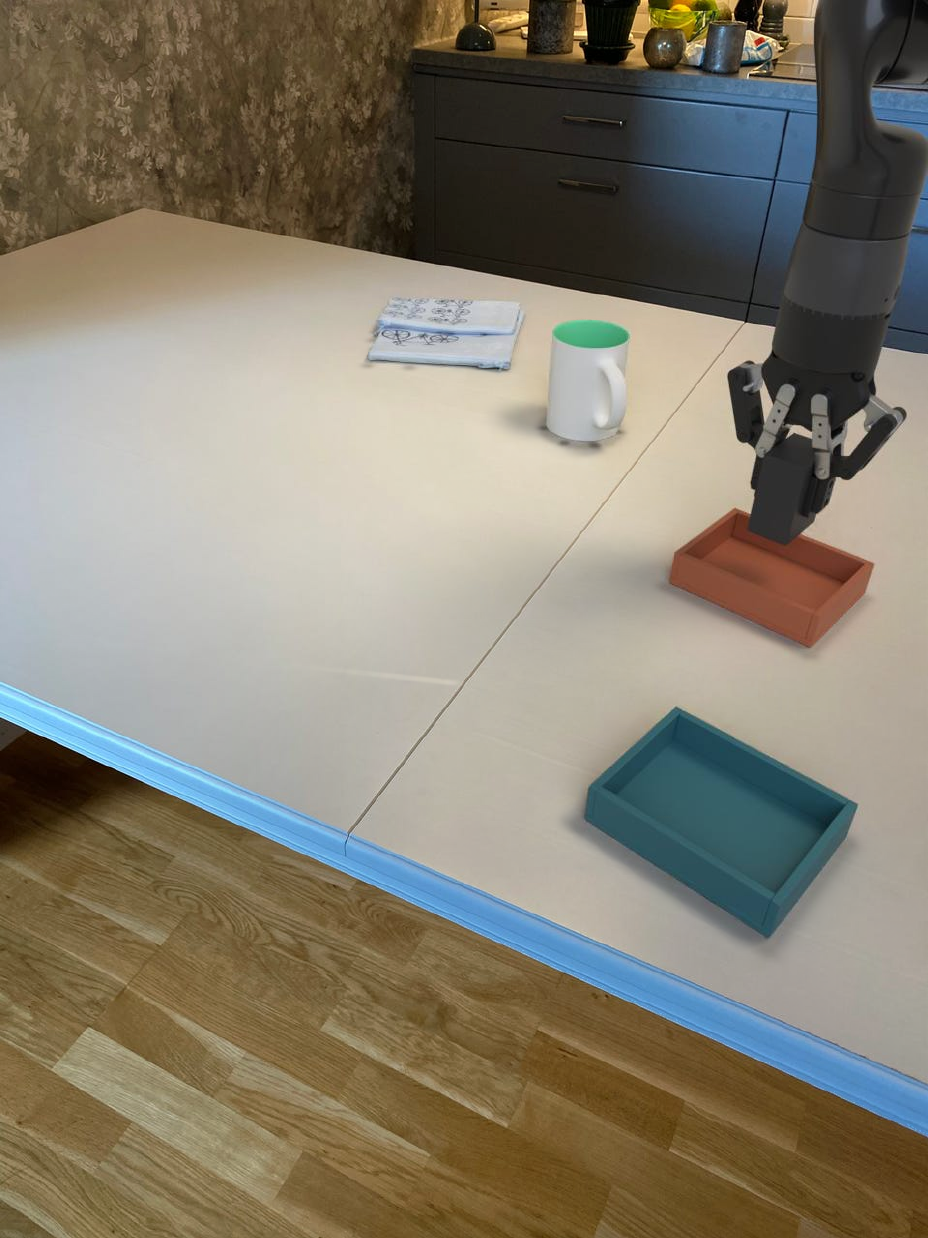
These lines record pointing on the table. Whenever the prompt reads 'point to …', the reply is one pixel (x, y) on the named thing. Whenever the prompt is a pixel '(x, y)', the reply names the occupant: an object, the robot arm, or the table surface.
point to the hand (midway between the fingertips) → (786, 503)
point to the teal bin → (721, 817)
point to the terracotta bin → (771, 577)
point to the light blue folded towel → (448, 332)
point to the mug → (587, 380)
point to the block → (783, 490)
